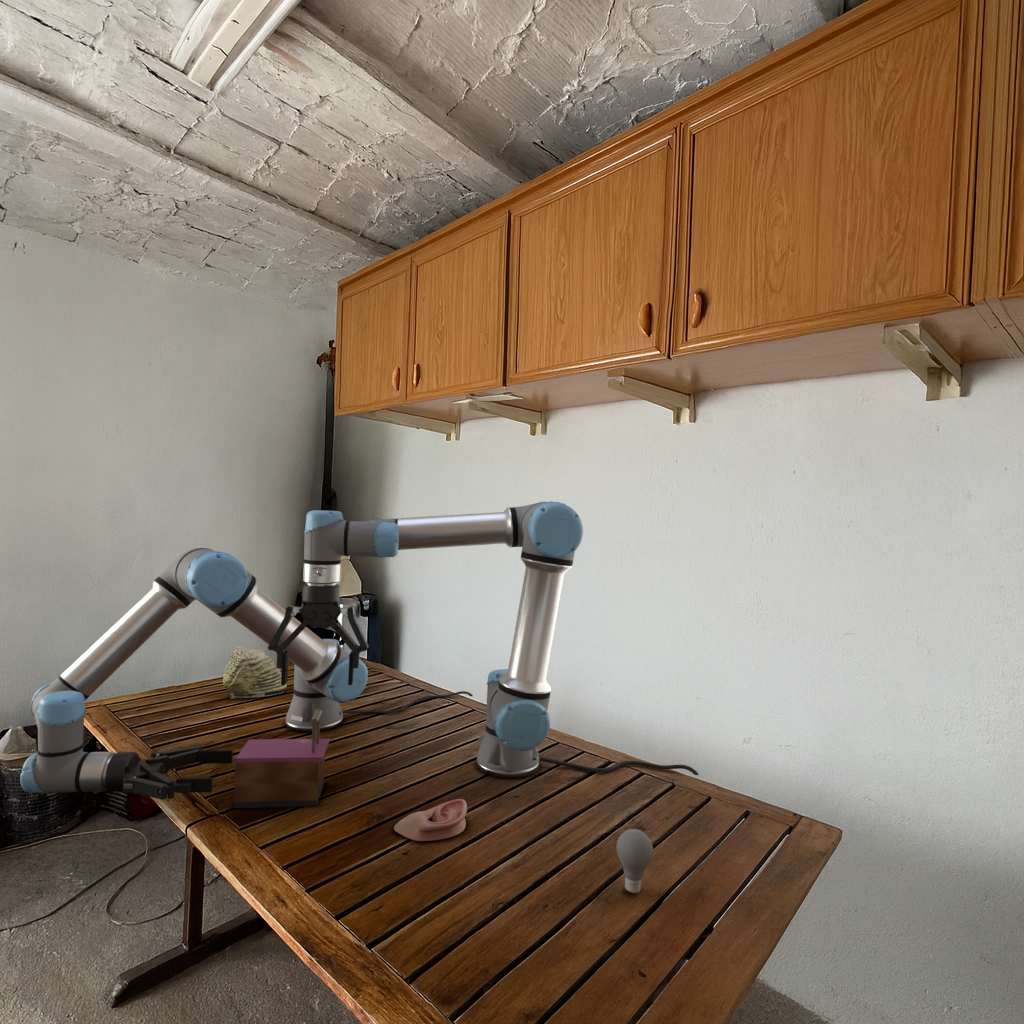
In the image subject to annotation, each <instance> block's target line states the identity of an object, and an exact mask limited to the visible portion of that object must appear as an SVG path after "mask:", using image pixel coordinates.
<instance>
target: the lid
mask: <svg viewBox="0 0 1024 1024" xmlns="http://www.w3.org/2000/svg"><path fill="white" fill-rule="evenodd" d="M321 714H322V710H321V709H317V710H316V711H315V713H314V715H313V718H312V720H311V724H312V732H311V738H264V739H263V738H261V739H260V738H259V739H257V738H255V739H250V738H249V739H248V740H247V742H246V743H245V744H244V746H243V747H242V749H241V750H240V751H239V753H238V754H237V755H236V757H235V764H236V763H264V762H322V761H323V758H324V755H325V756H326V753H327V750H328V747H329V744H330V738H320V732H321V731H320V716H321Z"/></svg>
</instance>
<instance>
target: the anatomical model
mask: <svg viewBox="0 0 1024 1024" xmlns="http://www.w3.org/2000/svg"><path fill="white" fill-rule="evenodd" d="M467 804H468V803H467V801H466V800H465V799H463V798H457V799H452V800H449V801H446V802H443V803H440V804H438V805H435V806H434V807H431V808H429V809H426V810H421V811H416V812H413V813H412V812H411V813H409V814H408V815H406V816H405V817H403V818H402V819H400V820H399V821H398V822H397V823H395V825H394V826H393V830H394V831H395V832H396V833H397V834H399V835H401V836H403V837H405V838H407V839H410V840H412V841H416V842H428V841H439V840H445V839H449V838H453V837H455V836H457V835H460V834H461V833H462V832H464V831H465V829H466V826H467V825H466V824H467V822H466V818H465V817H466V816H467V812H468V805H467Z"/></svg>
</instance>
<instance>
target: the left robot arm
mask: <svg viewBox="0 0 1024 1024" xmlns="http://www.w3.org/2000/svg"><path fill="white" fill-rule="evenodd" d="M194 601H198V602H199V603H201V604H202V605H203V606H204V607H205V608H207V609H208V610H209V611H211V612H213V613H214V614H215V615H217V616H218V617H220V618H229V617H231V618H232V619H234V620H235V621H236V622H238V623H239V624H240V625H242V626H243V627H245V628H246V629H247V630H248V631H250V632H251V633H252V634H254V635H255V636H256V637H257V638H258V639H260V640H262V642H264V643H265V644H267V645H268V646H269V644H270V642H271V640H272V639H273V637H274V635H275V633H276V631H277V630H278V628H279V626H280V624H281V623H282V621H283V619H284V617H285V612H286V609H285V608H284V607H282V606H281V605H280V604H278V603H277V602H276V601H275V600H273V599H272V598H271V597H269V596H268V595H267V594H266V593H265V592H263V591H262V590H261V589H260V588H258V579H257V577H256V576H254V575H253V574H252V573H251V572H250V571H248V570H247V569H246V567H245V566H244V564H243V563H242V562H241V561H240V560H239V559H238V558H237V557H236V556H234V555H232V554H230V553H227V552H225V551H218V550H214V549H211V548H207V547H197V548H193V549H192V548H191V549H190V550H187V551H186V552H184V553H182V554H181V555H180V556H178V557H177V558H176V559H175V560H173V562H172V563H170V565H169V566H168V567H166V568H165V569H164V570H163V571H162V573H161V574H160V575H158V576H157V577H156V578H155V579H153V581H152V588H151V589H150V590H149V591H148V592H147V593H146V594H144V596H143V597H142V598H140V600H139V601H137V602H136V603H135V604H134V605H133V606H132V607H131V608H130V609H129V610H128V611H127V612H126V613H124V615H122V616H121V618H119V619H118V620H117V621H116V622H115V623H114V624H112V626H111V627H110V628H109V629H108V630H107V631H105V632H104V633H103V634H102V635H101V636H100V637H99V638H98V639H97V640H96V641H95V642H94V643H92V645H91V646H89V648H88V649H87V650H86V651H84V652H83V653H82V654H81V655H80V656H79V657H78V658H77V659H76V660H74V662H73V663H72V664H71V665H70V666H68V668H66V670H65V671H63V672H62V673H61V674H59V676H58V677H57V678H55V679H54V681H52V682H51V683H48V684H45V685H43V686H41V687H39V689H37V690H36V691H35V692H34V694H33V696H32V698H31V702H30V710H31V713H32V716H33V717H34V720H35V724H36V728H37V752H35V753H32V754H31V755H30V756H28V758H27V759H26V760H25V761H24V763H23V765H22V767H21V768H22V771H21V773H20V777H19V782H20V786H21V788H22V790H23V791H25V792H26V793H30V794H31V793H32V794H46V795H50V794H64V793H93V794H99V793H101V792H102V793H106V792H107V791H108V792H110V793H115V792H116V793H117V792H118V793H120V792H121V793H129V794H130V793H131V794H137V795H140V796H141V795H142V796H145V797H149V798H153V799H157V800H163V801H164V800H166V799H167V800H172V799H174V798H175V794H196V793H197V794H198V793H200V794H201V793H202V794H203V793H212V791H213V776H195V777H194V776H192V777H191V776H190V777H177V778H176V779H172V778H170V777H168V776H166V775H164V774H167V773H169V771H170V770H174V769H176V768H181V767H186V766H188V765H193V764H196V763H199V765H207V764H209V765H210V764H212V765H213V764H214V765H215V764H222V765H223V764H233V761H234V757H233V756H234V749H203V745H202V744H199V745H195V746H189V747H184V748H183V747H182V748H176V749H171V750H164V751H152V752H150V757H148V758H143V759H142V758H141V757H140V756H139V753H137V752H136V751H117V752H115V751H84V731H85V730H84V729H85V713H86V710H87V709H86V706H85V702H86V700H88V699H89V698H90V696H91V695H93V693H94V692H96V690H98V689H99V687H101V686H102V685H103V684H104V682H106V681H107V680H108V679H109V678H110V677H111V676H112V675H113V674H114V673H115V672H116V671H117V670H118V669H119V668H120V667H121V666H122V665H123V664H124V663H125V662H126V661H127V660H128V659H129V658H130V657H131V656H133V655H134V654H135V652H136V651H137V650H138V649H140V647H142V646H143V645H144V644H145V643H146V642H147V641H148V640H149V639H150V638H151V637H152V636H153V635H154V634H155V633H156V632H157V631H158V630H159V629H160V628H161V627H163V625H164V624H165V623H166V622H167V621H168V620H169V619H171V617H172V616H174V614H176V612H177V611H179V610H184V609H187V608H188V607H189V606H190V605H191V604H192V603H194ZM301 623H302V621H300V620H298V619H297V618H296V617H295V616H294V617H292V619H291V620H290V622H289V624H288V626H287V628H286V629H285V631H284V633H283V635H282V636H281V638H280V640H279V642H278V644H279V645H281V644H282V643H283V642H284V641H285V640H286V639H287V638H288V637H289V636H290V635H291V634H292V633H293V632H294V631H295V629H296V628H297V627H298V626H299V625H300V624H301ZM285 651H289V655H288V661H290V662H291V663H292V664H294V672H293V695H292V696H293V697H292V699H291V702H290V704H289V708H288V711H287V713H286V715H285V726H286V728H287V729H289V730H291V731H294V732H295V731H296V732H301V733H312V724H311V720H312V718H313V715H314V713H315V711H316V710H317V709H321V710H322V714H321V716H320V732H325V731H329V730H332V729H335V728H337V727H339V726H340V725H342V723H343V722H344V714H380V715H381V714H382V715H383V714H385V715H387V714H395V713H399V712H402V711H404V710H405V709H406V708H408V707H410V706H413V705H414V704H415V703H417V702H420V701H423V700H427V699H439V698H450V697H453V696H457V695H463V694H464V695H467V696H469V697H473V696H474V695H473V694H472V693H471V692H469V691H464V690H463V691H456V692H453V693H448V694H438V695H437V694H435V695H427V696H422V697H418V698H416V699H414V700H412V701H411V702H409V703H407V704H405V705H403V706H402V707H399V708H396V709H393V710H366V709H365V710H364V709H363V710H360V709H359V710H352V709H351V710H343V709H342V706H341V704H344V703H350V702H352V701H354V700H355V699H357V698H358V697H359V696H360V695H362V693H363V691H364V690H365V688H366V685H367V683H368V680H369V677H368V676H369V671H368V667H367V665H366V664H365V662H364V661H362V659H361V658H359V666H358V668H354V672H353V683H352V685H348V676H349V654H350V652H348V651H347V650H346V649H344V648H343V647H341V646H340V641H339V640H338V639H336V638H323V639H322V638H321V637H320V636H318V635H317V634H316V633H314V632H313V631H312V630H311V629H310V628H308V627H307V626H306V627H305V628H304V629H303V630H302V632H301V633H300V634H299V635H298V636H297V637H296V638H295V639H294V640H293V641H292V642H291V643H290V644H289V645H288V647H287V648H286V649H285Z"/></svg>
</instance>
